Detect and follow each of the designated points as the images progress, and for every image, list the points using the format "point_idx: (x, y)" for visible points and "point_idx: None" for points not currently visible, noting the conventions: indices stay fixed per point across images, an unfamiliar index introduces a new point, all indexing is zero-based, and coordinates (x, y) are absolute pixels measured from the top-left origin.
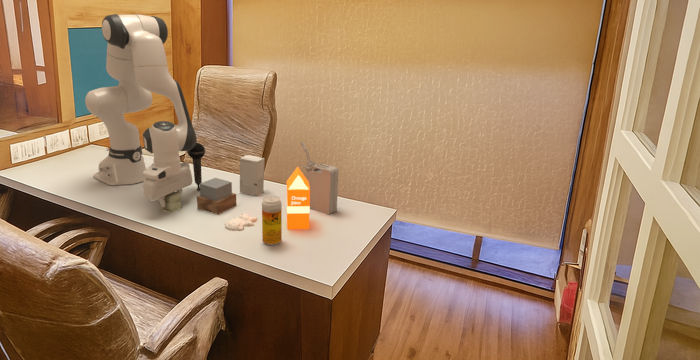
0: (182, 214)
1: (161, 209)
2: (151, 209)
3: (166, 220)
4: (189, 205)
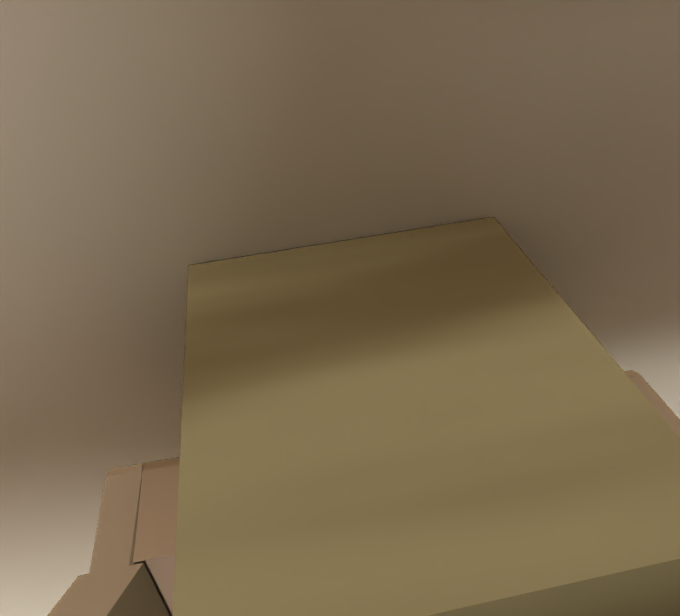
0: None
1: (190, 287)
2: (9, 74)
3: (23, 607)
4: None
